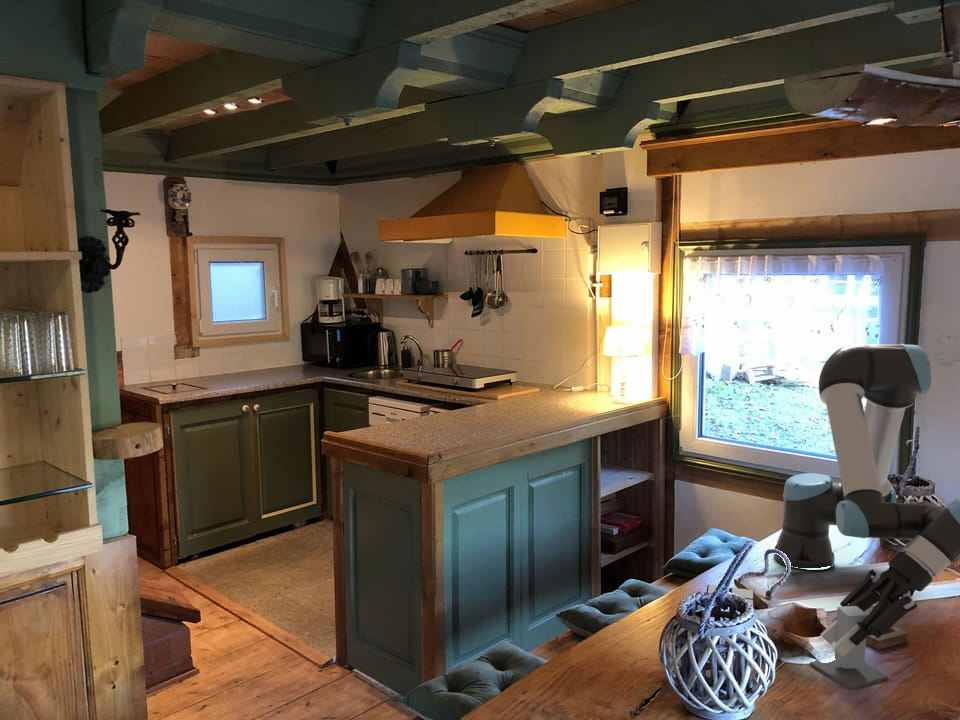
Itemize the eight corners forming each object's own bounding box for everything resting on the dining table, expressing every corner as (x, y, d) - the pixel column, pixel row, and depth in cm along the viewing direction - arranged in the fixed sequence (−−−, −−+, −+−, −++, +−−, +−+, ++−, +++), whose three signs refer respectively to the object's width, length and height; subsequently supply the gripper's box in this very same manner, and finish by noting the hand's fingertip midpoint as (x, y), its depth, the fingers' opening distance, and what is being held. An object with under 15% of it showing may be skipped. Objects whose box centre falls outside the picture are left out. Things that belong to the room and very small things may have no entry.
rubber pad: (810, 664, 158) (810, 662, 158) (846, 654, 162) (846, 651, 162) (850, 690, 149) (850, 687, 149) (887, 678, 153) (888, 675, 153)
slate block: (834, 657, 157) (837, 606, 156) (853, 657, 158) (856, 605, 156) (844, 668, 153) (847, 615, 152) (864, 667, 154) (867, 615, 152)
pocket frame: (844, 631, 172) (845, 623, 172) (872, 624, 175) (873, 615, 175) (878, 649, 164) (878, 640, 164) (907, 641, 167) (907, 632, 167)
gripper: (958, 595, 145) (867, 681, 147) (904, 559, 162) (822, 636, 164) (933, 569, 144) (841, 656, 146) (881, 535, 161) (799, 613, 163)
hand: (831, 645), depth 155 cm, fingers open, 4 cm apart
